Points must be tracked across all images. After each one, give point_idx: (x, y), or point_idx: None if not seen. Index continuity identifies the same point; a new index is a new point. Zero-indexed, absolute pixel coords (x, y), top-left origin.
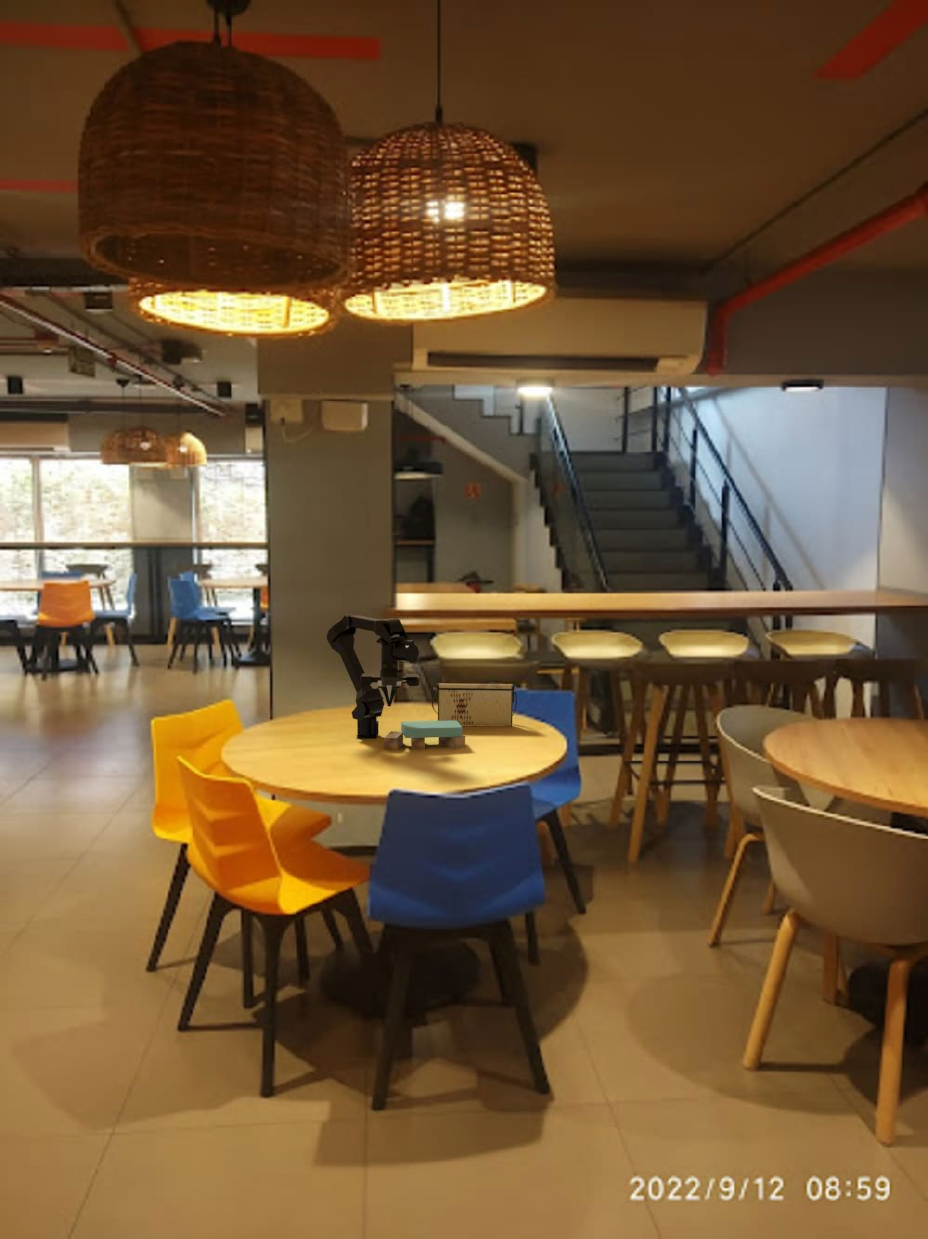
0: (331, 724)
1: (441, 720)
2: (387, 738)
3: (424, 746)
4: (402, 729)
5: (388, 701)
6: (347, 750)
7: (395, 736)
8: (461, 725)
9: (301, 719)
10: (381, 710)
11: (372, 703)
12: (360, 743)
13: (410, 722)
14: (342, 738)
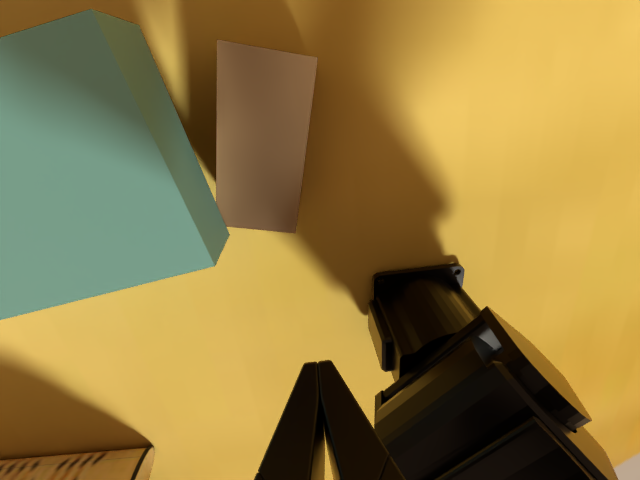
0: None
1: (126, 466)
2: (293, 54)
3: None
4: (201, 192)
5: (331, 401)
6: (528, 29)
7: (239, 98)
8: (59, 455)
9: (616, 443)
10: (382, 407)
11: (480, 421)
12: (447, 185)
13: (137, 252)
14: (521, 259)
